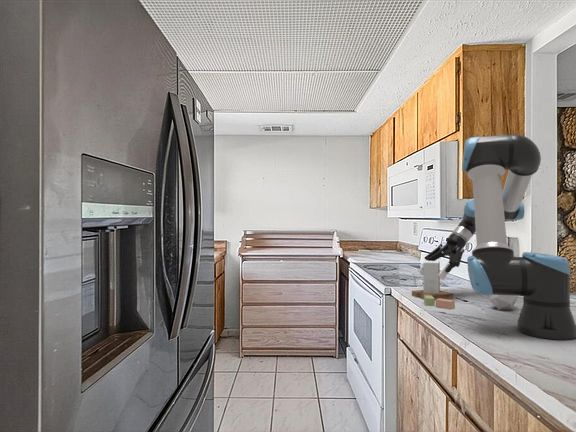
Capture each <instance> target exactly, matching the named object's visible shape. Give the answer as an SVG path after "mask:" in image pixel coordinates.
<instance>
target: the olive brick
mask: <svg viewBox="0 0 576 432" xmlns="http://www.w3.org/2000/svg"><path fill="white" fill-rule="evenodd" d="M423 303H424V304H425V305H426V306H427V307H430V306H431V307H436V300H435V299H434V297H433V296H429V295H424V299H423Z"/></svg>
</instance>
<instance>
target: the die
mask: <svg viewBox="0 0 576 432" xmlns="http://www.w3.org/2000/svg"><path fill="white" fill-rule="evenodd" d="M518 298H519V296H513V295H489V299H488V300H489V301H490V302H491V303H492V305H494V307H495V308H497V310H498V311H499V310H502V311H503V310H504V311H505V310H508V311H509V310H513V309H514V307H515V304H516V302H517V300H518Z"/></svg>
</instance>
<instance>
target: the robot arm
mask: <svg viewBox="0 0 576 432" xmlns="http://www.w3.org/2000/svg"><path fill="white" fill-rule="evenodd" d="M464 142H465V143H464V148H463V156H462V163H461V164H462V165H461V171H462V172H464V173H466V176H467V178H468V179H469V180H471V181H472V192H473V193H472V194H473V195H472V196H473V198H470V199H468V200H467V201H466V203H465V205H464V209H463V217H462V219H461V221H460V222H459V223H458V224H457V226H456V227H455V228H454V229H453V231H452V232H451V234H449V236H448V237H447V238H446V244H444V245H443V244H442V243H440V244H439V245H438V246H437V247H436V248H434V249H433V250H432V251H431V252H429V253H428V254H426V255H425V257H424V258H423V259H424V261H438V260H439V259H441V258H442V257H446V256H448V257H449V258H448V259H449V260H448V262H447V263H446V264H445V265H444V267H443V268H442V269H441V270H440V273H439V275H438V276H439V277H440V279H441V280H443V281H444V279H446V277H447V275H449V273H451V271H452V270H453V269H454V268H456V267H457V268H458V267H460V265H461V260H462V257H463V254H464V253H465V250H466V249H464V248H465V246H466V245H467V243H468V242H470V240H471V239H472V237H473V236H474V235H475V237H476V239H475V240H476V246H475V248H474V249H472V251H471V255H470V256H468V257H467V259H466V263H467V272H468V278H469V282H470V285H471V288H472V290H473V291H474V293H476V294H477V295H488V296H491V295H513V296H517V297H523V302H522V303H523V305H522V306H521V307H522V308H521V310H520V312H519V317H518V319H517V321H516V328H517V331H518V332H520V333H522V334H524V335H527V336H532V337H536V338H539V339H540V338H541V339H547V340H561V341H562V340H574V339H576V322H575V321H576V320H575V319H574V316H573V313H572V310H571V295H570V294H571V292H570V289H571V287H570V286H571V284H570V282H571V281H570V280H571V279H570V275H571V270H570V263H569V261H568V259H567V258H565V257H562V256H557V255H554V254H552V255H551V254H548V253H547V254H546V253H539V252H532V251H531V252H529V251H524V252H522V255H521V256H515V255H514V250H513V248H511V247H510V246H508V239H507V231H506V230H507V228H506V221H517V220H518V221H519V220H523V219H524V217H525V205H524V203H523V200H524V197H525V194H526V191H527V189H528V187H529V184H530V182H531V180H532V178H533V175H534V174H536V173H537V172H538V170H539V169H540V166H541V160H542V158H541V152H540V149H539V147H538V146H537V145H536V144H535V143H534V141H533V140H532V139H530V138H529V137H527V136H525V135H522V134H517V133H516V134H500V135H487V136H486V135H485V136H481V135H479V136H474V137H473V136H471V137H468V138H467V139H466V140H465V141H464ZM506 170H508V171H507V175H506V179H505V181H504V186H503V188H502V177H503V176H505V174H506ZM418 272H419V274H420V275H421V276H423V264H422V265H421V267H419V269H418Z"/></svg>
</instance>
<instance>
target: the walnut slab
mask: <svg viewBox="0 0 576 432" xmlns="http://www.w3.org/2000/svg"><path fill="white" fill-rule="evenodd" d="M424 295H429V296H433V297H434V299H435V301H436V299H439V298H440V299H447V300H453V299H454V293H452V292H448V291H444V290H441V289H440V292H439V294H429V293H423V289H417V290H411V296H413V297H416V298H419V299H422V300H424Z"/></svg>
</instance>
